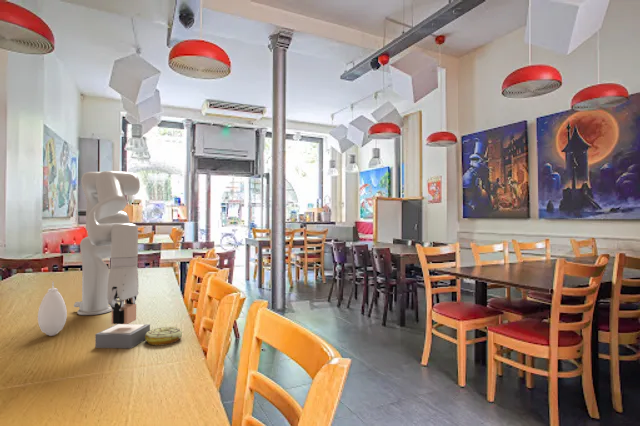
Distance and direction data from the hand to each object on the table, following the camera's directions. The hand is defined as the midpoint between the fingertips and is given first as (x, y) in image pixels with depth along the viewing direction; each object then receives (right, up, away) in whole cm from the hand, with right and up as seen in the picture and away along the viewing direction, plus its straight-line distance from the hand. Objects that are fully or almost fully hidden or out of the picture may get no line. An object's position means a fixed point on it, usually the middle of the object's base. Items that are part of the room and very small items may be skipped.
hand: (124, 320), depth 117 cm
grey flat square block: (0, -7, 0) cm, 7 cm away
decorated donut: (+12, -7, +1) cm, 14 cm away
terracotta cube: (0, 0, 0) cm, 0 cm away
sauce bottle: (-28, -7, +7) cm, 30 cm away
